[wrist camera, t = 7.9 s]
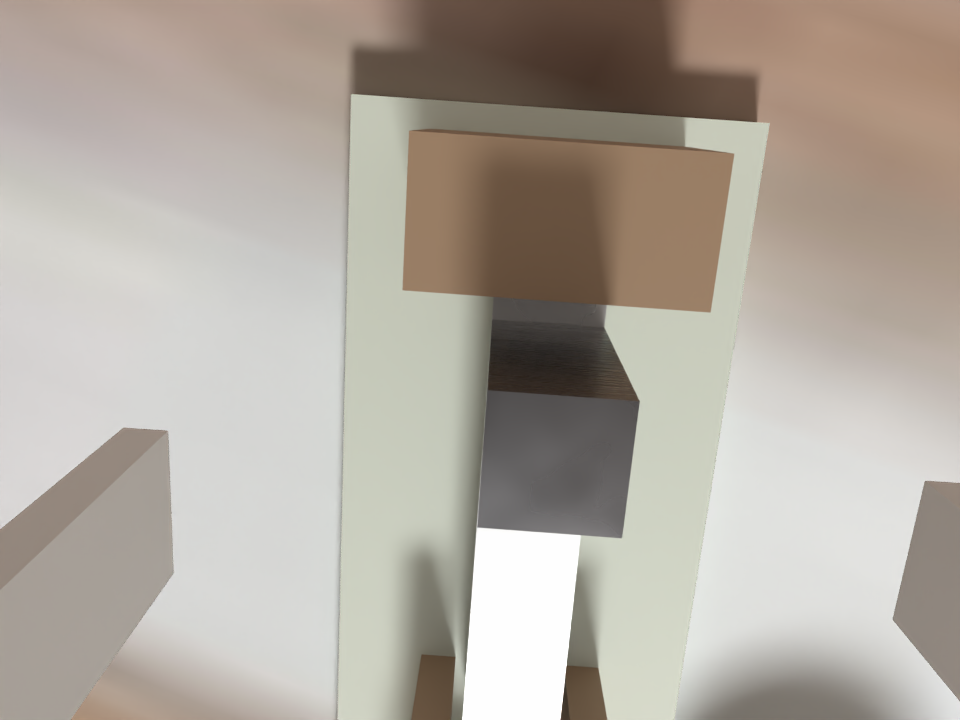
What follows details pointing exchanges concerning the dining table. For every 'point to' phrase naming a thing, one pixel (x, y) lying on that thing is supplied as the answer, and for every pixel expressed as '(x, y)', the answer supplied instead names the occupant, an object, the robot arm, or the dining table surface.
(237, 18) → the dining table surface
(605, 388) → the slide bar
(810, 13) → the dining table surface
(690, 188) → the board
